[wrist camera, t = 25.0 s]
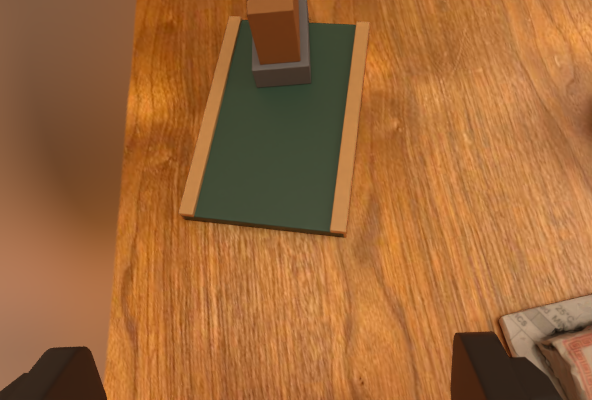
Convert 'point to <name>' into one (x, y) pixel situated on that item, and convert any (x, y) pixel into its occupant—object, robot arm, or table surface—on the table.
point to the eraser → (279, 42)
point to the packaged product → (556, 343)
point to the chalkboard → (280, 137)
